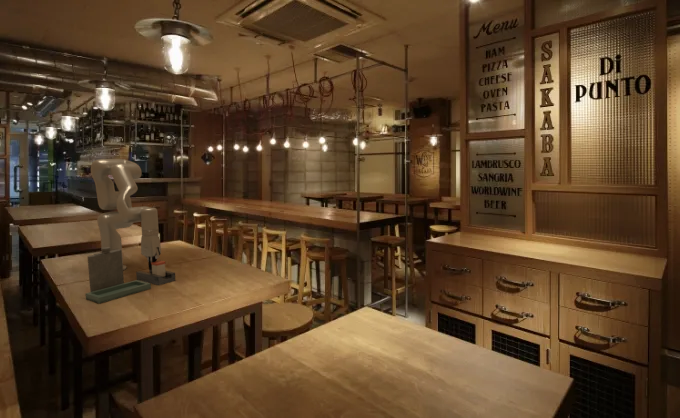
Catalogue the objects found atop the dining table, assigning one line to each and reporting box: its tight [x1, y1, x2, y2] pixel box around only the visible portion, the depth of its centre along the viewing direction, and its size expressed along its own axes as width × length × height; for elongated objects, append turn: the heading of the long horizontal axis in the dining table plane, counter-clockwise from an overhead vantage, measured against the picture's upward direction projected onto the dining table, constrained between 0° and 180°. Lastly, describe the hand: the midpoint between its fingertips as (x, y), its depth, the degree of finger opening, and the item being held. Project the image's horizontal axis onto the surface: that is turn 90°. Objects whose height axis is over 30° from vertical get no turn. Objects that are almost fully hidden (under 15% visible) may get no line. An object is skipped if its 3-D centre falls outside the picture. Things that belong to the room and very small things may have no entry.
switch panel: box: [135, 269, 176, 286], centre depth 199 cm, size 18×9×4 cm, turn 58°
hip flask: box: [87, 247, 125, 292], centre depth 182 cm, size 16×4×20 cm, turn 158°
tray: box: [84, 279, 152, 304], centre depth 178 cm, size 11×23×2 cm, turn 148°
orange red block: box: [151, 260, 166, 277], centre depth 197 cm, size 4×5×7 cm
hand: (152, 269), depth 199 cm, fingers closed
